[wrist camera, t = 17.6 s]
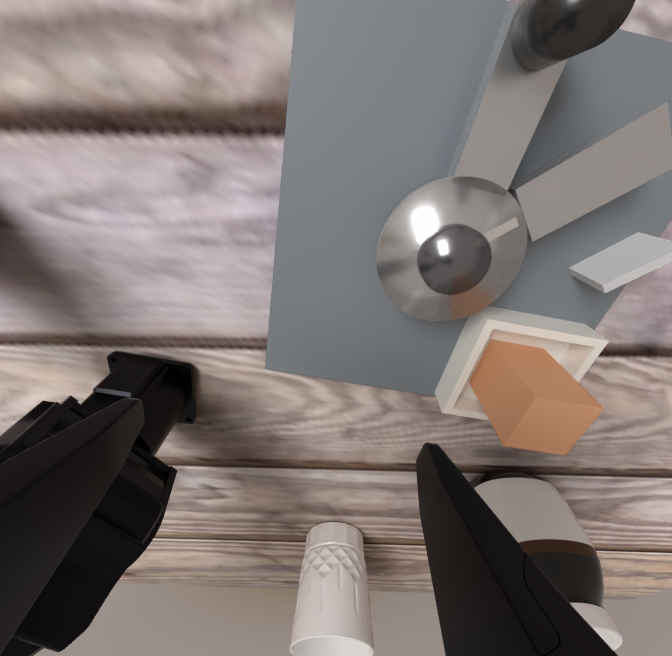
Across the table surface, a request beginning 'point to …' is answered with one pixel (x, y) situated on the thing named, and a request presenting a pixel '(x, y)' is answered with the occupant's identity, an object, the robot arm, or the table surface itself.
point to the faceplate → (426, 164)
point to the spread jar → (551, 541)
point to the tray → (521, 328)
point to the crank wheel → (514, 168)
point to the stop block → (532, 398)
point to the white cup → (333, 595)
